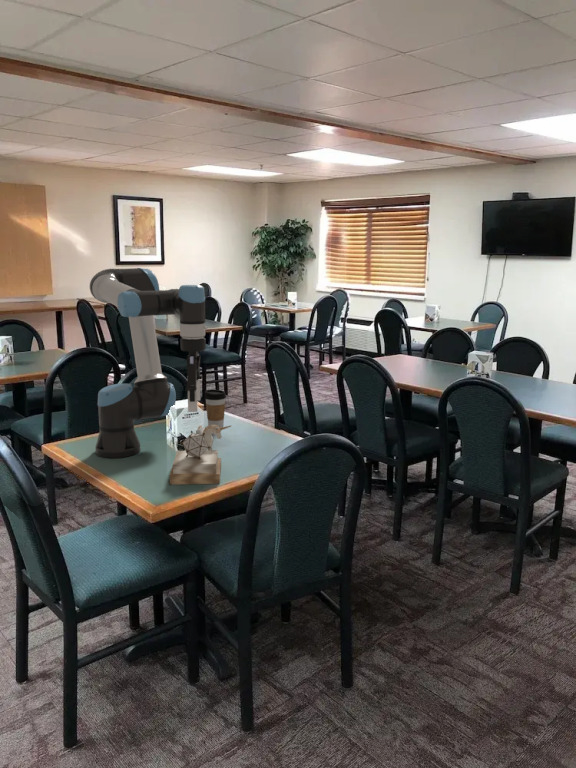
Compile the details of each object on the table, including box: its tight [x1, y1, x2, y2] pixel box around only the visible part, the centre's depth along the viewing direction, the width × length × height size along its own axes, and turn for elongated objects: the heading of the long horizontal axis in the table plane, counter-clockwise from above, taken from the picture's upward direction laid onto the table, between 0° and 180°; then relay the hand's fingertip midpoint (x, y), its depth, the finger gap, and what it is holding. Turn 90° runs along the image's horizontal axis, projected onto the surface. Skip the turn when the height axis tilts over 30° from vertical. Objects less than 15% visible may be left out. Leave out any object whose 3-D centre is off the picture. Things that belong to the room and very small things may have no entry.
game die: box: [179, 430, 211, 460], centre depth 193 cm, size 9×8×10 cm
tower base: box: [169, 449, 222, 486], centre depth 195 cm, size 15×15×6 cm
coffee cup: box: [204, 388, 227, 428], centre depth 246 cm, size 8×8×15 cm
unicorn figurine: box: [195, 424, 232, 450], centre depth 210 cm, size 7×20×13 cm, turn 37°
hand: (194, 405), depth 191 cm, fingers open, 13 cm apart
